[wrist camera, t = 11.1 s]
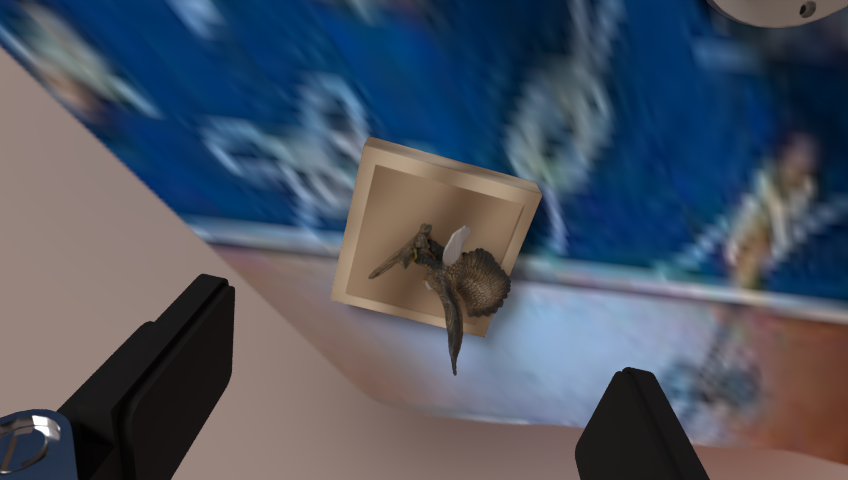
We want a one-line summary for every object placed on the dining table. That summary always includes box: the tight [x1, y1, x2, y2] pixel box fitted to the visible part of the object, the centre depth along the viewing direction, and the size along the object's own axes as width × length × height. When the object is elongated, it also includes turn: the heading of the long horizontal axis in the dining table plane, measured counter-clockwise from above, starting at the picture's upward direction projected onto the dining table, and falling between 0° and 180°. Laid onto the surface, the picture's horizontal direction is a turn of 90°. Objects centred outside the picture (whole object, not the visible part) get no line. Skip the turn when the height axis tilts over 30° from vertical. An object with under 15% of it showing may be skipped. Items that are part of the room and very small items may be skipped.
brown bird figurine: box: [368, 223, 511, 376], centre depth 30 cm, size 8×7×9 cm
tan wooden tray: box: [330, 136, 542, 337], centre depth 34 cm, size 12×12×3 cm
